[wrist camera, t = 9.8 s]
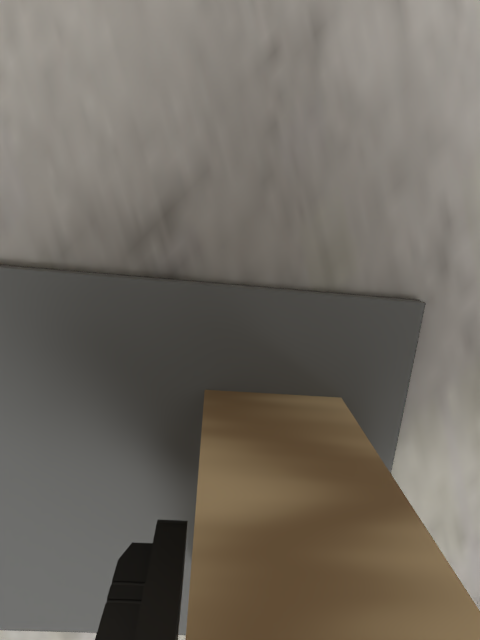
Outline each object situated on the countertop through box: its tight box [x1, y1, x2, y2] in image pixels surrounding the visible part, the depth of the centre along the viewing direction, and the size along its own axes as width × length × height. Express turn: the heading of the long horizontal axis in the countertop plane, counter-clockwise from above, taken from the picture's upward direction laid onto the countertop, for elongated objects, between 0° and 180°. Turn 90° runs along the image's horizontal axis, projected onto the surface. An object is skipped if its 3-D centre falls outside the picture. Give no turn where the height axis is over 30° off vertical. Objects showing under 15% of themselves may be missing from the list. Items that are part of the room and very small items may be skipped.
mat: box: [0, 265, 425, 635], centre depth 13 cm, size 16×12×1 cm
